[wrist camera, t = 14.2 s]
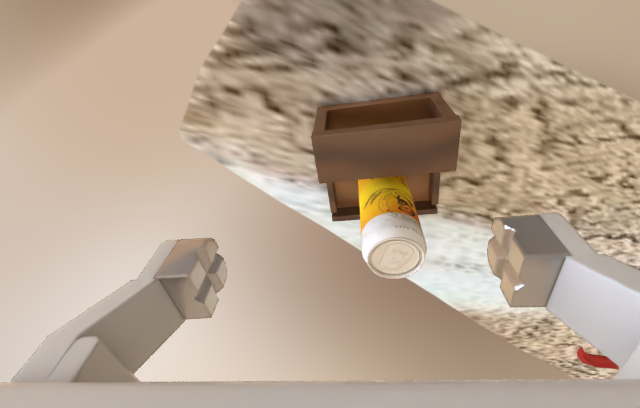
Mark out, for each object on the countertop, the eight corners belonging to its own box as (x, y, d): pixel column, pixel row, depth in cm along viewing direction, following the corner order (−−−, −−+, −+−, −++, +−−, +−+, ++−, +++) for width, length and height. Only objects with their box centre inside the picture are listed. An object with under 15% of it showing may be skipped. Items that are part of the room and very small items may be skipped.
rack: (317, 105, 39) (311, 136, 31) (438, 90, 37) (461, 119, 29) (333, 206, 47) (331, 250, 40) (431, 198, 45) (448, 242, 38)
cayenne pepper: (569, 351, 64) (575, 361, 63) (593, 342, 62) (599, 351, 61) (600, 373, 68) (606, 382, 67) (623, 365, 66) (630, 374, 64)
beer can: (413, 166, 41) (442, 247, 29) (391, 202, 44) (408, 288, 32) (370, 149, 40) (380, 226, 28) (350, 187, 43) (352, 271, 31)
